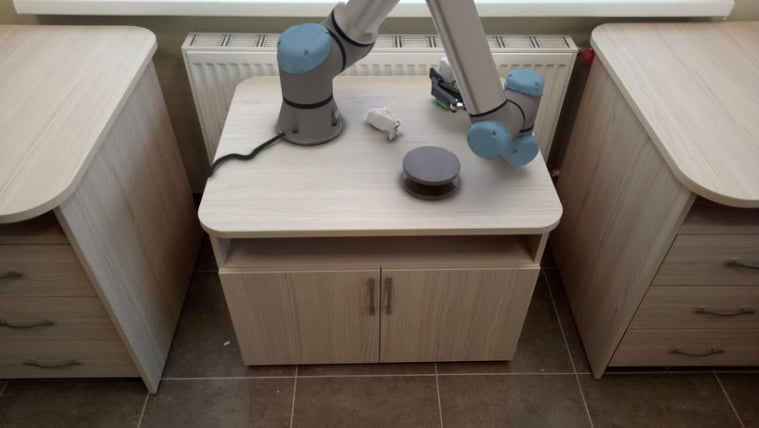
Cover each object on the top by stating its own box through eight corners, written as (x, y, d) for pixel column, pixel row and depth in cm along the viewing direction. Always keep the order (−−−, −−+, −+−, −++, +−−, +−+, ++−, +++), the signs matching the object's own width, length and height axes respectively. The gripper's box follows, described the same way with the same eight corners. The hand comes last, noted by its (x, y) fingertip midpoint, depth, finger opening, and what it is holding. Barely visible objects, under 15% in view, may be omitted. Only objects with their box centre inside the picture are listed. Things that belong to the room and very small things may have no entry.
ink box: (446, 109, 137) (451, 67, 129) (434, 100, 140) (438, 58, 132) (472, 100, 140) (479, 58, 132) (460, 91, 143) (465, 50, 135)
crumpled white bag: (404, 135, 131) (376, 110, 134) (407, 117, 125) (377, 91, 128) (389, 146, 129) (361, 120, 132) (391, 128, 123) (362, 102, 126)
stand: (414, 206, 111) (416, 186, 107) (393, 171, 119) (394, 152, 115) (467, 193, 114) (470, 174, 110) (443, 160, 122) (445, 141, 118)
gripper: (445, 138, 123) (408, 89, 139) (528, 121, 129) (484, 76, 144) (448, 110, 118) (409, 62, 133) (535, 94, 124) (488, 49, 139)
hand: (448, 69), depth 139 cm, fingers closed on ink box, 9 cm apart
